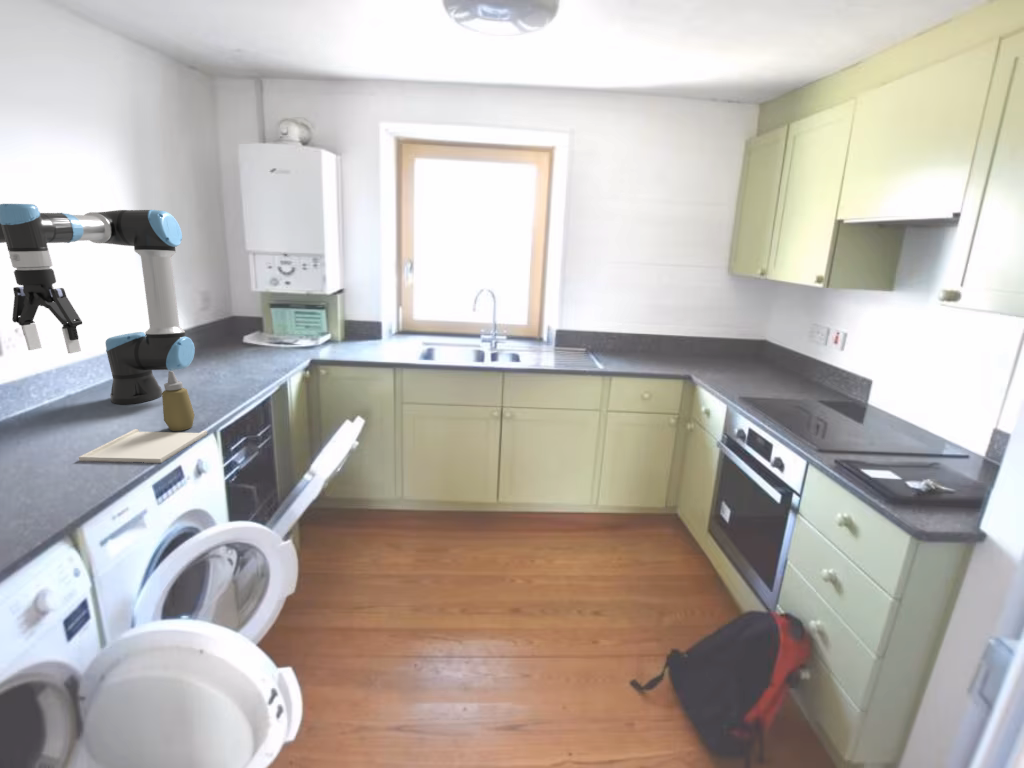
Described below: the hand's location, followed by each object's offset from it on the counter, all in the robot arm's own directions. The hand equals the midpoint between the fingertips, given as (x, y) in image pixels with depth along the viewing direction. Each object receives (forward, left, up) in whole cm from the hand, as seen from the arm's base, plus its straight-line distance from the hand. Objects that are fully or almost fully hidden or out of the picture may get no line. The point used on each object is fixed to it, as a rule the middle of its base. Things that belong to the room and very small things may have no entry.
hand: (54, 350), depth 137 cm
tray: (-1, +19, -28) cm, 33 cm away
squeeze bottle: (-16, +19, -28) cm, 37 cm away
